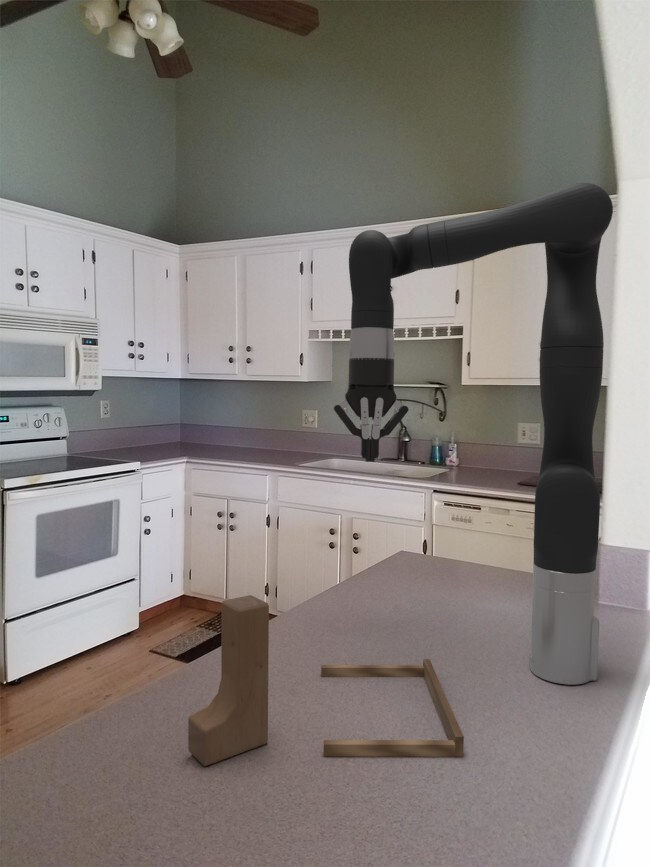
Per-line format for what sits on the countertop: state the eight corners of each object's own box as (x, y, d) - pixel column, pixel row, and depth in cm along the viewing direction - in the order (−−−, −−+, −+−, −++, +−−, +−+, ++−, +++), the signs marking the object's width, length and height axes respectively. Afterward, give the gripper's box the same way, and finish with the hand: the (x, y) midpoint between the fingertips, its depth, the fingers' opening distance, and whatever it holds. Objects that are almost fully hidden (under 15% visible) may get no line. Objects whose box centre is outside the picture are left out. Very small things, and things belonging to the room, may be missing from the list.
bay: (429, 674, 102) (429, 659, 101) (463, 756, 79) (463, 736, 78) (321, 674, 101) (321, 658, 101) (323, 756, 78) (323, 736, 78)
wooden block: (203, 768, 75) (204, 617, 74) (187, 751, 79) (187, 606, 78) (269, 743, 81) (270, 602, 80) (250, 728, 84) (251, 593, 83)
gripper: (407, 359, 111) (405, 459, 112) (330, 357, 110) (329, 458, 111) (415, 356, 103) (412, 464, 104) (332, 355, 103) (331, 463, 104)
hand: (369, 461), depth 108 cm, fingers closed
